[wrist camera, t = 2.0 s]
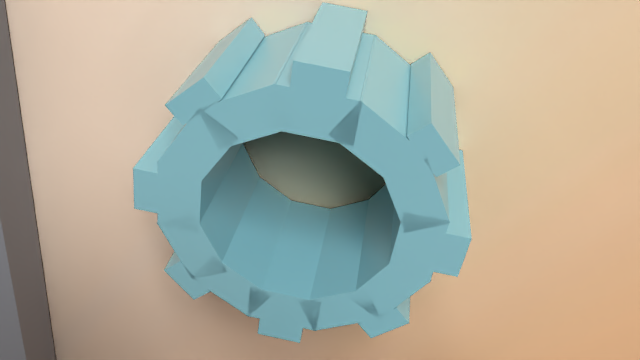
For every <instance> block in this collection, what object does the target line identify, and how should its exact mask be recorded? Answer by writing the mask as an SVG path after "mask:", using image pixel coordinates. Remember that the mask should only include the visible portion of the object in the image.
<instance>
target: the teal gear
mask: <svg viewBox="0 0 640 360" xmlns="http://www.w3.org/2000/svg"><path fill="white" fill-rule="evenodd" d="M366 16H367V11H365V10H360V9H355V8H349V7H344V6H339V5H334V4H329V3H322V5H321V6H320V8H319V10H318V12H317V14H316V16H315V18H314V20H313V22H312V23H310V22H306V23H303V24H300V25H297V26H294V27H292V28H289V29H286V30H283V31H280V32H277V33H274V34H271V35H269V36H266V37H264V36H265V35H264V33H263V32H262V31H261V29H260V28H259V27H258V26H257V24H256V23H255V22H254V20H253V19H252V18H250V19H248V20H247V21H246V22H244V23H243V24H242V25H240V26H239V27H238V28H236V29H235V30H234V31H232V32H231V33H230V34H228V35H227V36H226V37H224V38H223V39H221V40H220V41H219V42H218V43H217V44H216V46H215V47H214V48H213V49H212V50H211V51H210V53H209V54H208V55H207V56H206V57H205V58H204V60H203V61H202V62H201V63H200V64H199V65H198V67H197V68H196V69H195V70H194V71H193V73H192V74H191V75H190V76H189V77H188V78H187V80H186V81H185V82H184V83H183V84H182V85H181V87H180V88H179V89H178V90H177V91H176V92H175V94H174V95H173V96H172V97H171V98H170V100H169V101H168V102H167V103H166V104H165V106H166V107H167V108H168V109H169V110H170V112H171V113H172V114H173V115H174V117H173V119H172V120H171V121H170V122H169V124H168V125H167V126H166V127H165V129H164V130H163V131H162V133H161V134H160V135H159V136H158V138H157V139H156V140H155V141H154V143H153V144H152V145H151V146H150V148H149V149H148V150H147V151H146V153H145V154H144V155H143V157H142V158H141V159H140V160H139V162H138V163H137V164H136V165H135V167H134V168H133V179H134V208H135V209H139V210H144V211H149V212H154V213H158V222H157V224H158V225H159V227H160V228H161V230H162V232H163V233H164V235H165V237H166V238H167V240H168V241H169V243H170V245H171V246H172V248H173V249H174V253H173V255H172V257H171V258H170V260H169V262H168V264H167V266H166V267H165V269H164V271H165V272H166V273H167V274H168V275H169V276H170V277H171V278H172V279H173V280H174V281H175V282H176V283H177V284H178V285H179V286H180V287H181V288H182V289H183V290H185V291H186V292H187V293H188V294H189V295H190V296H191V297H192V298H193V299H196V298H198V297H200V296H202V295H204V294H206V293H208V292H210V291H211V292H212V293H214V294H215V295H217V296H218V297H220V298H221V299H223V300H225V301H226V302H228V303H229V304H231V305H232V306H234V307H235V308H237V309H238V310H240V311H241V312H243V313H244V314H246V315H247V316H250V317H255V318H259V319H260V320H259V328H258V334H262V335H266V336H271V337H275V338H280V339H284V340H289V341H294V342H298V343H300V340H301V336H302V332H303V328H305V329H310V330H314V331H316V330H321V329H327V328H332V327H338V326H344V325H350V324H355V323H358V324H359V325H360V326H361V328H362V329H363V330H364V331H365V332H366V333H367V334H368V335H369V337H370V338H373V337H375V336H378V335H380V334H383V333H385V332H388V331H390V330H393V329H396V328H398V327H401V326H403V325H406V324H408V323H409V312H410V296H411V295H413V294H414V293H415V292H417V291H418V290H419V289H421V288H422V287H423V286H425V285H426V284H427V283H429V282H430V281H431V277H432V274H433V272H437V273H442V274H447V275H452V276H456V277H458V274H459V271H460V269H461V266H462V263H463V261H464V258H465V255H466V252H467V250H468V247H469V244H470V241H471V229H470V220H469V210H468V200H467V190H466V180H465V171H464V161H463V151H462V150H459V144H458V133H457V122H456V112H455V101H454V90H453V86H452V85H451V83H450V82H449V80H448V79H447V77H446V75H445V74H444V72H443V71H442V69H441V68H440V66H439V65H438V63H437V62H436V60H435V59H434V57H433V56H432V54H431V53H428V54H427V55H425V56H423V57H422V58H420V59H419V60H417V61H415V62H414V63H412V64H411V65H410V64H408V63H407V62H406V61H405V60H404V59H403V58H401V57H400V56H399V55H398V54H397V53H396V52H394V51H393V50H392V49H391V48H390V47H389V46H387V45H386V44H385V43H384V42H383V41H382V40H380V39H379V38H378V37H377V36H376V35H371V34H366V33H363V32H364V26H365V21H366ZM281 131H283V132H288V133H293V134H297V135H302V136H307V137H312V138H317V139H322V140H327V141H332V142H337V143H340V144H341V145H342V146H344V147H345V148H346V149H348V150H349V151H350V152H351V153H353V154H354V155H355V156H357V157H358V158H359V159H360V160H362V161H363V162H364V163H365V164H367V165H368V166H369V167H371V168H372V169H373V170H374V171H376V172H377V173H378V174H380V175H381V176H382V177H383V178H384V180H385V183H386V184H385V185H384V186H383V187H382V188H381V189H380V190H379V191H378V192H377V193H376V194H374V195H373V196H372V197H371V198H370V199H369V200H366V201H361V202H357V203H353V204H349V205H345V206H341V207H336V208H332V209H329V208H324V207H320V206H315V205H310V204H305V203H300V202H296V201H291V200H290V199H289V198H287V197H286V196H285V195H283V194H282V193H280V192H279V191H278V190H276V189H275V188H274V187H272V186H271V185H270V184H268V183H267V182H266V181H264V180H263V179H261V178H260V177H259V175H258V173H257V171H256V169H255V167H254V165H253V163H252V161H251V159H250V157H249V155H248V153H247V151H246V149H245V147H244V145H243V143H244V142H247V141H251V140H254V139H257V138H261V137H264V136H268V135H271V134H275V133H278V132H281Z"/></svg>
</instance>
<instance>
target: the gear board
mask: <svg viewBox="0 0 640 360" xmlns="http://www.w3.org/2000/svg"><path fill="white" fill-rule="evenodd" d="M0 360H56V358H55V351H54V344H53V337H52V330H51V323H50V316H49V309H48V302H47V295H46V288H45V281H44V274H43V267H42V260H41V253H40V246H39V239H38V232H37V225H36V218H35V211H34V204H33V197H32V190H31V183H30V176H29V169H28V162H27V155H26V148H25V141H24V134H23V127H22V120H21V113H20V106H19V99H18V92H17V85H16V78H15V71H14V64H13V57H12V50H11V43H10V36H9V29H8V22H7V15H6V8H5V1H4V0H0Z"/></svg>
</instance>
